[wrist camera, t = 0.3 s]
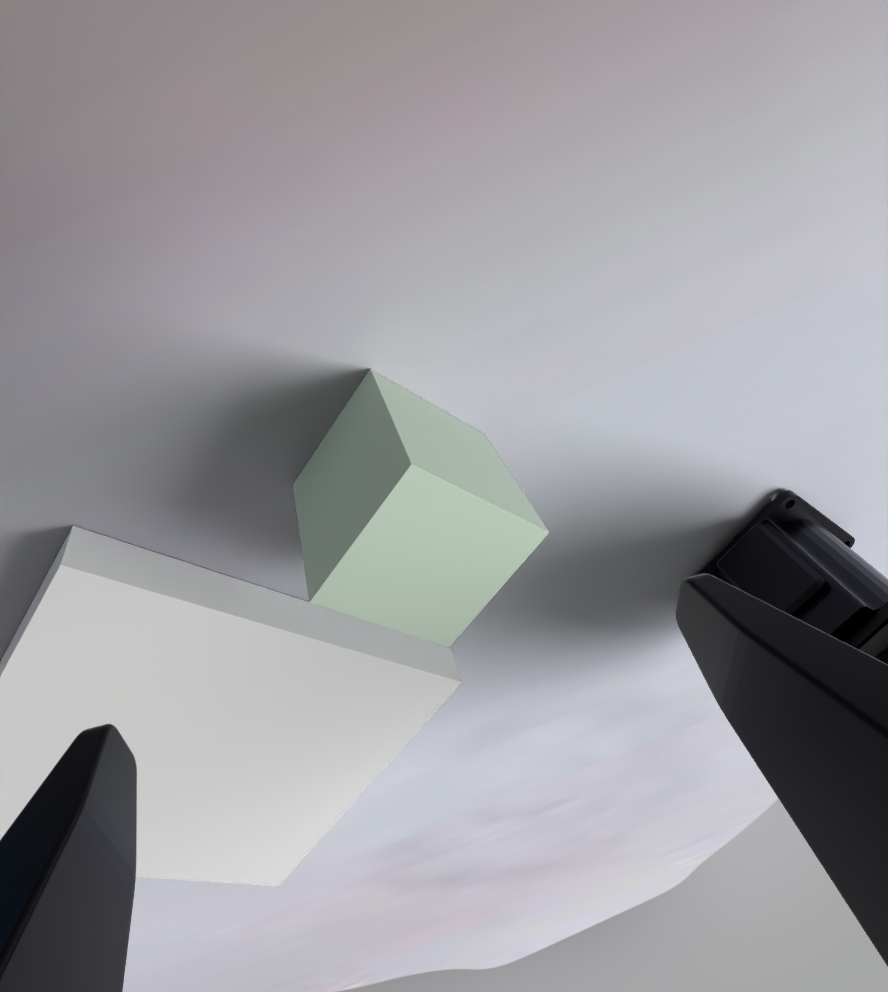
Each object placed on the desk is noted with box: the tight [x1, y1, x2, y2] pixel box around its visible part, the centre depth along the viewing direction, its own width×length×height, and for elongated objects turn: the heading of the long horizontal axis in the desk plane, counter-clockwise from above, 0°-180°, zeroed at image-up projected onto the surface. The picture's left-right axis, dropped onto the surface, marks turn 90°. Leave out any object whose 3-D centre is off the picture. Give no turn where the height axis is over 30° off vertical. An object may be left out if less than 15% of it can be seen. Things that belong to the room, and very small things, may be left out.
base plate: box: [0, 526, 462, 886], centre depth 27 cm, size 16×16×2 cm
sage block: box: [293, 368, 549, 647], centre depth 21 cm, size 5×5×6 cm
